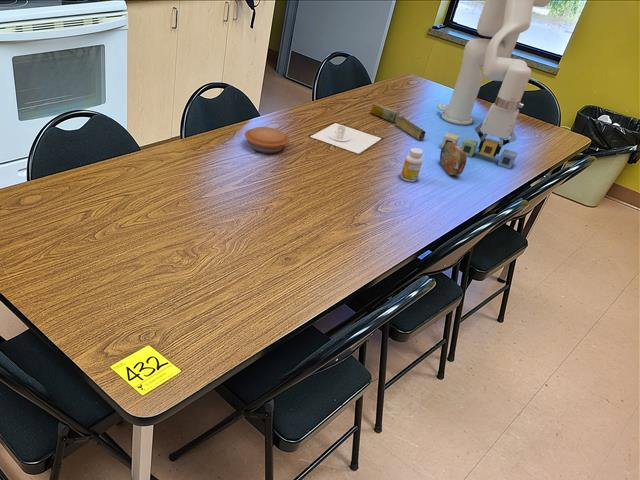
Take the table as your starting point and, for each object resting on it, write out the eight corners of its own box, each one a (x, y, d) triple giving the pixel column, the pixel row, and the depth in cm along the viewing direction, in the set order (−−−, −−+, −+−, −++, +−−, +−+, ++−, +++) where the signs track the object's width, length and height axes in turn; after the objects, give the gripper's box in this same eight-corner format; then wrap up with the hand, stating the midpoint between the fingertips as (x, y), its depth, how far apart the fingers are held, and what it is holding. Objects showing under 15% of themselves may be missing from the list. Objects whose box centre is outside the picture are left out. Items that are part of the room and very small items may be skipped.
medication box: (397, 122, 229) (400, 112, 227) (393, 123, 227) (397, 113, 225) (373, 112, 235) (376, 102, 233) (369, 112, 233) (373, 102, 231)
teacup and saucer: (335, 131, 215) (337, 120, 212) (354, 137, 211) (356, 127, 209) (324, 137, 209) (326, 126, 206) (343, 144, 205) (346, 133, 203)
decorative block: (423, 140, 216) (426, 131, 214) (418, 140, 215) (421, 131, 213) (400, 124, 227) (402, 116, 225) (395, 125, 226) (397, 116, 224)
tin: (437, 160, 202) (444, 137, 197) (445, 160, 202) (453, 138, 197) (452, 179, 190) (461, 156, 185) (461, 180, 191) (470, 156, 186)
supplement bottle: (400, 173, 190) (408, 145, 184) (417, 176, 190) (425, 149, 184) (399, 179, 186) (407, 151, 180) (416, 183, 185) (424, 155, 179)
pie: (292, 156, 193) (294, 142, 190) (247, 155, 190) (249, 141, 187) (282, 138, 205) (284, 124, 202) (240, 136, 202) (241, 123, 199)
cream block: (440, 147, 212) (444, 135, 209) (443, 144, 215) (447, 132, 212) (452, 151, 210) (456, 139, 207) (455, 147, 213) (459, 135, 210)
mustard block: (479, 153, 206) (484, 141, 203) (482, 149, 209) (487, 138, 206) (492, 157, 204) (496, 145, 201) (495, 153, 207) (499, 141, 204)
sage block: (458, 153, 209) (463, 141, 206) (462, 149, 212) (466, 137, 210) (471, 157, 207) (475, 145, 205) (474, 153, 211) (478, 141, 208)
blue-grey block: (497, 164, 204) (502, 152, 201) (499, 160, 207) (504, 148, 204) (510, 168, 202) (515, 156, 199) (512, 164, 206) (517, 152, 203)
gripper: (534, 107, 194) (513, 157, 206) (484, 94, 201) (467, 143, 212) (530, 113, 189) (509, 163, 201) (479, 99, 195) (461, 149, 207)
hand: (487, 152), depth 206 cm, fingers closed on mustard block, 4 cm apart
